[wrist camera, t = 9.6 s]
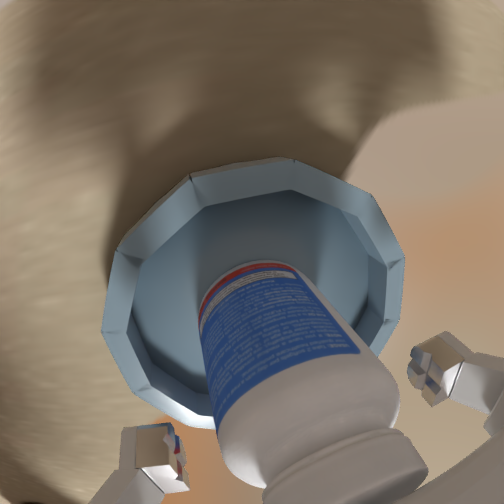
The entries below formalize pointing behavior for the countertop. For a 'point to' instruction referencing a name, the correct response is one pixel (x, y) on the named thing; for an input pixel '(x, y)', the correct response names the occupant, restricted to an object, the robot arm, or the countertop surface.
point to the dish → (234, 254)
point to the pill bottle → (300, 393)
